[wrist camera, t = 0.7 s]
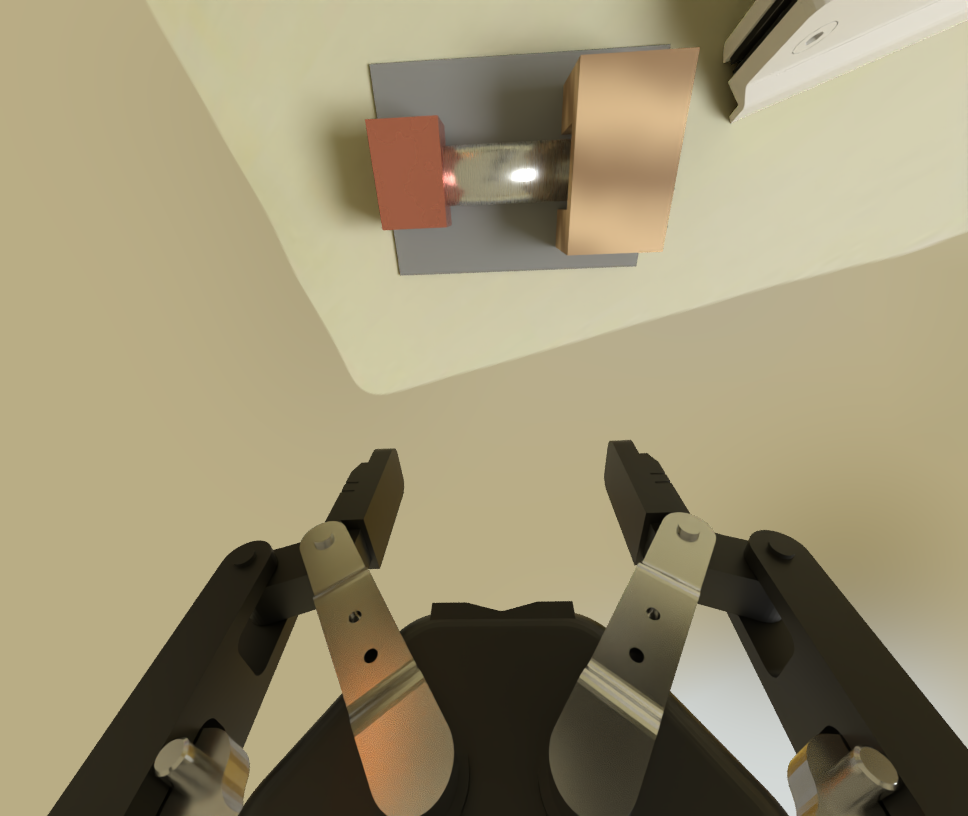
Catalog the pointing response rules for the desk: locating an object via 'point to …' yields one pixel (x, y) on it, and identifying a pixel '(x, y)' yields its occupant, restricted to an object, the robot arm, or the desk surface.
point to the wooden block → (623, 148)
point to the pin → (457, 172)
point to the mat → (480, 120)
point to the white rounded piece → (823, 42)
